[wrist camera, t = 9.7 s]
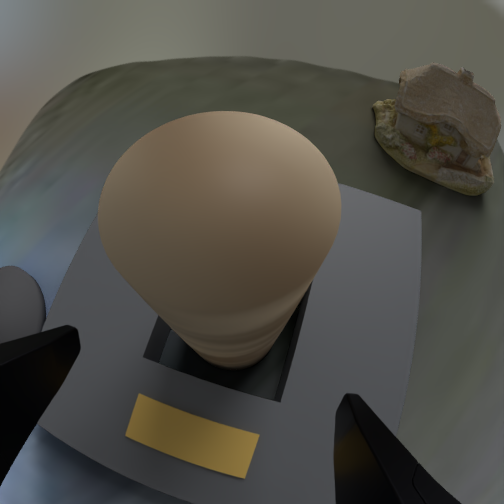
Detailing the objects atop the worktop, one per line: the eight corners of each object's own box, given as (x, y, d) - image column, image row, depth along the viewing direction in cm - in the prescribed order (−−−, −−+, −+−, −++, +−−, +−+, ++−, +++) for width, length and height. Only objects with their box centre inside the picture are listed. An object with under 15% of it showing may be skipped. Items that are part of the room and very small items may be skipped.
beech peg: (231, 387, 16) (204, 375, 4) (173, 325, 18) (64, 191, 6) (292, 329, 18) (384, 196, 6) (234, 273, 19) (227, 89, 8)
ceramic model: (356, 147, 25) (391, 53, 16) (377, 93, 29) (401, 22, 20) (482, 217, 22) (543, 150, 13) (478, 149, 27) (517, 90, 18)
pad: (25, 393, 15) (16, 391, 14) (-32, 343, 15) (-40, 340, 14) (61, 291, 18) (54, 286, 17) (1, 258, 19) (-6, 253, 18)
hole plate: (345, 513, 12) (363, 531, 10) (44, 409, 14) (15, 408, 11) (402, 232, 21) (422, 209, 18) (153, 165, 23) (144, 137, 20)
